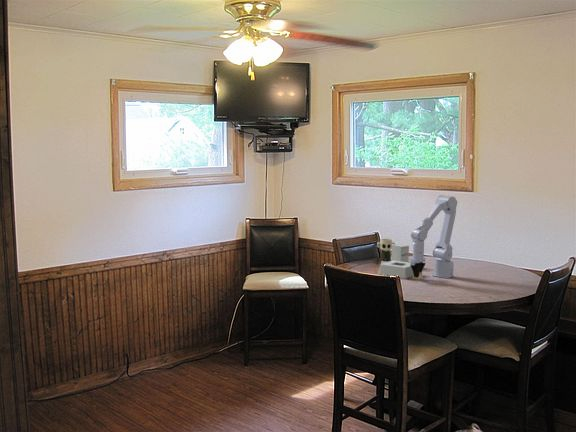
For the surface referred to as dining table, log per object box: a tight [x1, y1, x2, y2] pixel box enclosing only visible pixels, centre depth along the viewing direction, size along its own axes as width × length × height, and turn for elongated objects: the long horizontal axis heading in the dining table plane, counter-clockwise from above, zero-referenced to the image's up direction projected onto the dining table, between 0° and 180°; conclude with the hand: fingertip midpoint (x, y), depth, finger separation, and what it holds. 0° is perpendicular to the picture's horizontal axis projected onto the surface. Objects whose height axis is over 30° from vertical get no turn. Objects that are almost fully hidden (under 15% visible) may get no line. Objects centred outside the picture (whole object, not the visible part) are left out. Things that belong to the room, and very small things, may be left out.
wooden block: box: [412, 271, 423, 281], centre depth 332 cm, size 4×3×4 cm
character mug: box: [376, 238, 396, 261], centre depth 384 cm, size 11×7×13 cm, turn 87°
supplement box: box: [390, 243, 410, 262], centre depth 366 cm, size 7×7×13 cm
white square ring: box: [379, 260, 413, 280], centre depth 343 cm, size 15×15×6 cm
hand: (417, 276), depth 332 cm, fingers closed on wooden block, 3 cm apart
